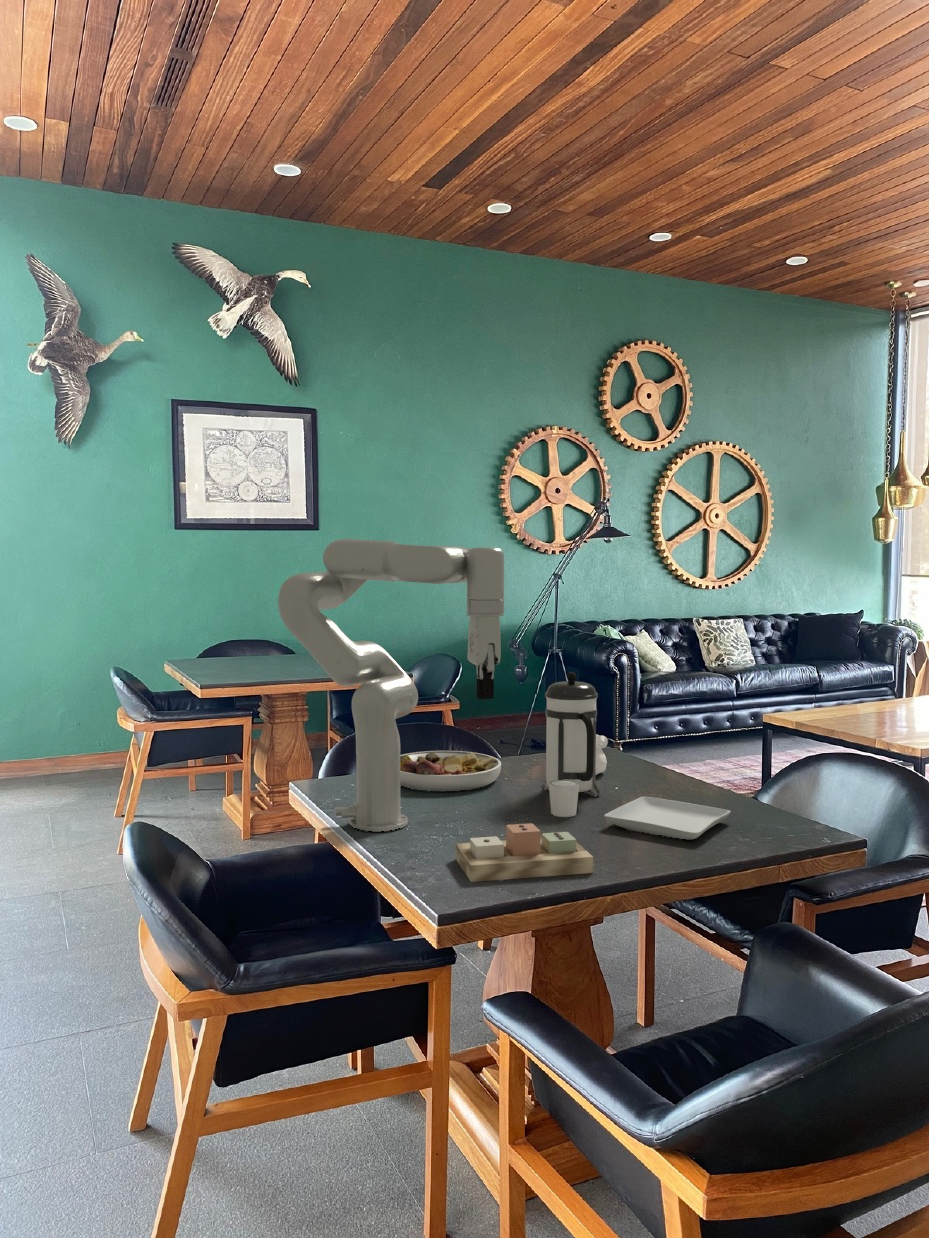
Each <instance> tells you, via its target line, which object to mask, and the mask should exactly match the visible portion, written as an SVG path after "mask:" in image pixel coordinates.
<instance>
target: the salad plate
mask: <svg viewBox="0 0 929 1238" xmlns="http://www.w3.org/2000/svg"><path fill="white" fill-rule="evenodd" d="M730 814H731V810H729V809H725V808H719V807H715V806H714V807H713V806H708V805H703V804H695V803H690V802H685V801H679V800H672V799H664V798H660V797H651V796H640V797H638V798H636V799H634V800H631V801H629V802H627V803H625V804H623V805H621V806H619V807H617V808H615V809H613V810H611V811H609V812H607V813H605V814H604V815H603V817H604V818H605V819H606V820H607V821H608V822H609V823H611V824H612V825H615V826H617V827H620V828H624V829H626V830H628V831H631V832H632V831H633V832H637V833H642V832H644V833H643V834H647V833H649V835H653V836H658V835H662V836H661V837H664V836H666V838H670V837H672V838H671V839H675V838H679V839H678V840H682V839H686V841H687V840H695V839H697V838H699V837H700V836H701V835H702V834H704V833H705V832H706V831H708V830H709V829H711V828H713V827H714V826H715V825H717V824H719V823H721V822H722V821H724V820H725V819H727V818H728V816H729V815H730Z"/></svg>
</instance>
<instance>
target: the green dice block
mask: <svg viewBox="0 0 929 1238" xmlns="http://www.w3.org/2000/svg"><path fill="white" fill-rule="evenodd" d="M576 842H577V839H576V838H575V837H574V836H573V835H571V833H570V832H568V831H561V832H560V831H557V832H543V833H542V832H541V847H542V848H543V849H544V850H545V851H546V852H547V853H548V854H550V853H564V852H576Z"/></svg>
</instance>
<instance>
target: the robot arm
mask: <svg viewBox="0 0 929 1238" xmlns="http://www.w3.org/2000/svg"><path fill="white" fill-rule="evenodd" d="M322 561H323V565H324V568H325V571H321V572H319V571H317V572H313V571H312V572H301V573H300V572H299V573H297V574H294V575H291V576H289V577H288V578H286V580H284V581H283V583H282V585H281V586H280V589H279V592H278V598H277V599H278V601H277V605H278V612H279V615H280V618H281V620H282V622H283V624H284V626H285V627H286V629H287V630H288V631H289V632H290V634H292V635H293V637H294V638H296V640H297V641H298V642H299V643H300V644H301V645H302V646H303V647H304V648H305V649H306V650H307V652H308V653H309V654H310V655H311V657H313V659H314V660H315V662H317V664H318V665H319V666H320V667H321V669H323V670H324V672H325V673H326V674H327V675H328V677H329V678H330V679H331V680H332V681H333V682H334V683H335V684H337V685H338V686H341V687H353V686H358V685H359V686H358V687H357V688H356V690H355V691H354V693H353V696H352V698H351V713H352V718H353V725H354V729H355V733H354V734H355V754H356V756H355V759H356V769H355V770H356V775H355V779H356V781H355V782H356V801H353V805H352V804H351V805H349V807H346V806H345V807H343V806H340V807H339V806H338V807H334V817H335V818H336V817H337V818H338V817H341V818H342V819H347V818H349V821H348V822H349V824H350V825H351V826H352V827H353V828H352V827H351V826H350V825H349V824H348V825H349V826H350V827H351V828H352V829H354V828H358V829H361V830H365V831H364V832H368V831H372V832H373V833H374V832H375V833H376V832H377V833H381V831H384V832H391V831H390V830H392V831H396V830H395V829H397V830H399V829H398V828H400V829H402V828H405V827H406V826H407V825H408V823H409V821H408V820H409V819H408V816H407V815H405V814H403V813H401V810H402V809H401V802H402V801H401V791H402V790H401V789H402V788H401V787H402V786H401V784H400V755H401V737H400V733H399V730H398V729H399V728H398V726H397V722H396V719H399V718H403V717H405V716H407V715H409V714H410V713H412V712H413V711H414V710H415V709H416V707H417V705H418V701H419V693H418V688H417V687H416V685H415V682H414V681H413V680H412V678H411V677H410V676H409V675H408V674H407V673H406V671H404V669H403V668H402V667H401V666H400V665H399V664H398V663H397V662H396V660H395V659H394V658H393V657H392V656H391V654H389V653H388V652H387V651H386V650H385V649H384V647H382V646H381V645H379V644H377V643H376V642H374V641H371V640H370V641H369V640H359V641H358V640H357V641H354V640H352V639H350V638H349V637H348V636H347V635H346V634H345V633H344V632H343V630H341V629H340V627H339V626H338V625H337V624H336V623H335V622H334V621H333V620H331V618H329V617H327V616H326V615H325V614H323V613H322V612H321V611H322V610H325V611H326V610H332V609H336V608H338V607H340V606H341V605H343V604H344V603H345V602H346V601H347V600H349V599H350V597H352V596H353V595H354V594H355V593H356V592H357V591H358V590H359V589H360V588H361V587H362V586H363V585H364V584H366V582H368V581H381V582H382V581H383V582H394V583H395V582H403V583H404V582H405V583H418V584H420V583H421V584H431V585H433V584H435V585H442V584H458V583H466V616H467V617H469V620H468V621H469V623H468V631H467V632H468V635H467V657H466V658H467V661H468V662H469V663H471V664H473V665H475V666H476V667H475V668H476V698H477V699H478V700H493V699H494V698H495V697H494V696H495V693H494V692H495V691H494V689H495V687H494V685H495V682H494V681H495V680H494V678H495V666H498V665H499V664H500V663H501V657H502V654H501V653H502V652H501V648H502V646H501V643H502V641H501V639H502V638H501V621H500V618H501V617H503V616H505V554H504V551H503V550H502V549H501V548H499V547H491V546H490V547H482V546H481V547H472V548H467V547H462V546H449V545H448V546H447V545H446V546H445V545H417V544H415V545H414V544H413V545H412V544H402V543H401V544H400V543H398V542H396V541H394V540H393V541H392V540H376V539H375V540H374V539H372V540H371V539H355V538H353V539H352V538H342V539H341V538H340V539H339V538H338V539H335V540H334V541H332V542H330V543H329V544H328V545H327V546H326V548H325V549H324V551H323V554H322ZM361 830H360V831H361ZM372 832H371V833H372Z"/></svg>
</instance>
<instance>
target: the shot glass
mask: <svg viewBox="0 0 929 1238" xmlns="http://www.w3.org/2000/svg"><path fill="white" fill-rule="evenodd" d="M548 788H549V789H548V791H549V792H548V794H549V802H550V814H551V815H552V814H553V816H555V817H559V818H560V817H561V818H569V817H570V818H571V817H574V816H576V815H577V807H578V799H579V792H578V791H579V783H577V782H575V781H570V780H555V781H551V782H549V786H548Z"/></svg>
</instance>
